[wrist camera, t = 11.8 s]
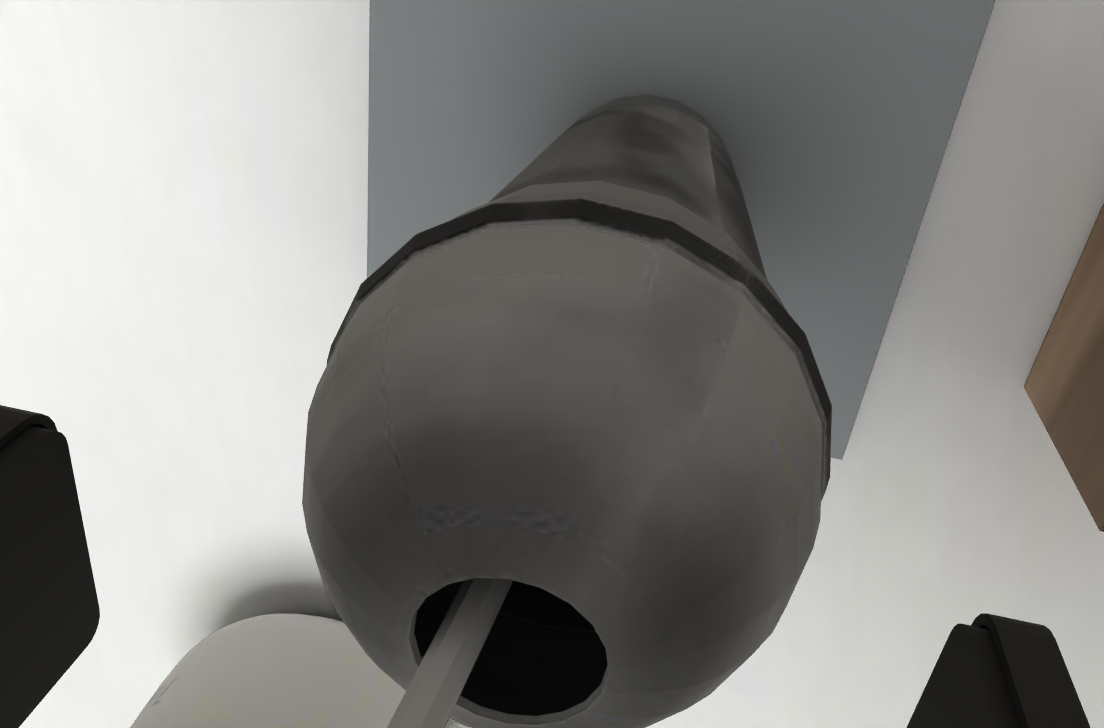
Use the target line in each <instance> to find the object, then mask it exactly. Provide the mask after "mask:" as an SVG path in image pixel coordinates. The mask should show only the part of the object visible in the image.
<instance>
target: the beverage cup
mask: <svg viewBox="0 0 1104 728" xmlns="http://www.w3.org/2000/svg"><path fill="white" fill-rule="evenodd" d="M831 425H832V404H831V402H830V399H829V396H828V393H827V391H826V388H825V385H824V383H823V380H822V377H821V374H820V372H819V369H818V366H817V364H816V361H815V358H814V355H813V353H812V350H811V347H810V345H809V342H808V339H807V336H806V334H805V332H804V331H803V330H802V329H801V328H800V326H799V325H798V324H797V323H796V322H795V321H794V319H793V318H792V317H791V316H790V315H789V314H788V311H787V310H786V308H785V307H784V305H783V303H782V302H781V300H780V298H779V297H778V295H777V294H776V292H775V290H774V289H773V287H772V285H771V284H770V283H769V282H768V281H767V278H766V274H765V271H764V267H763V263H762V260H761V256H760V253H759V249H758V246H757V242H756V238H755V235H754V231H753V228H752V224H751V220H750V217H749V213H748V210H747V206H746V203H745V199H744V195H743V192H742V188H741V185H740V182H739V179H738V177H737V174H736V171H735V169H734V166H733V163H732V161H731V158H730V155H729V154H728V152H727V151H726V148H725V146H724V143H723V140H722V139H721V138H720V136H719V135H718V134H717V133H716V132H715V130H714V129H713V128H712V127H711V125H710V124H709V123H708V122H707V121H706V119H705V118H704V117H702V116H701V115H699V114H698V113H696V112H694V111H693V110H691V109H690V108H688V107H686V106H685V105H683V104H682V103H680V102H677V101H673V100H669V99H665V98H661V97H657V96H653V95H643V96H631V97H620V98H618V99H616V100H613V101H611V102H609V103H606V104H604V105H602V106H599V107H597V108H594V109H593V110H592V111H591V112H590V113H589V114H587V115H586V116H583V117H581V118H579V119H578V120H577V121H576V122H575V123H574V124H573V125H571V126H570V127H569V128H568V129H567V130H566V131H565V132H564V133H562V134H561V135H560V136H559V137H558V138H557V139H556V140H555V141H554V142H552V143H551V144H550V145H549V146H548V147H547V148H546V149H545V150H544V151H543V152H542V153H541V154H540V155H538V156H537V157H536V158H535V159H534V160H533V161H532V162H531V163H530V164H529V165H528V166H527V167H526V168H524V169H523V170H522V171H521V172H520V173H519V174H518V175H517V176H516V177H515V178H514V179H513V180H512V181H511V182H509V183H508V184H507V185H506V186H505V187H504V188H503V189H502V190H501V191H500V192H499V193H498V194H497V195H495V196H494V197H493V198H492V199H491V200H490V201H489V202H488V203H486V204H483V205H481V206H478V207H476V208H473V209H471V210H469V211H467V212H465V213H463V214H461V215H459V216H457V217H455V218H453V219H452V220H450V221H447V222H445V223H442V224H440V225H437V226H435V227H432V228H430V229H427V230H425V231H422V232H420V233H418V234H416V235H414V236H413V237H412V238H411V239H410V240H409V241H408V242H407V243H406V244H405V245H403V246H402V247H401V248H400V249H399V250H398V251H397V252H396V253H395V254H394V255H392V256H391V257H390V258H389V259H388V260H387V261H386V262H385V263H384V264H383V265H381V266H380V267H379V268H378V269H377V270H376V271H375V272H374V273H373V274H372V275H370V276H369V277H368V278H367V279H366V280H365V281H364V282H363V283H362V284H361V285H360V287H359V289H358V291H357V294H356V296H355V298H354V300H353V302H352V304H351V306H350V308H349V310H348V312H347V314H346V316H345V318H344V320H343V322H342V324H341V326H340V329H339V331H338V333H337V335H336V337H335V339H334V341H333V343H332V345H331V348H330V352H329V356H328V359H327V367H326V369H325V371H324V373H323V375H322V377H321V379H320V381H319V383H318V385H317V388H316V391H315V394H314V397H313V400H312V403H311V406H310V409H309V412H308V424H307V436H306V451H305V467H304V484H303V500H302V504H303V510H304V516H305V522H306V528H307V533H308V536H309V539H310V543H311V546H312V549H313V552H314V555H315V558H316V562H317V565H318V568H319V571H320V574H321V577H322V581H323V584H324V587H325V589H326V591H327V593H328V595H329V598H330V600H331V602H332V604H333V606H334V608H335V610H336V612H337V613H338V615H339V616H340V617H341V619H342V620H343V622H344V623H345V625H346V626H347V627H348V629H349V630H350V632H351V633H352V635H353V636H354V637H355V639H356V640H357V642H358V643H359V644H360V646H361V647H362V649H363V650H364V652H365V653H366V654H367V655H368V657H369V658H370V659H371V660H372V661H373V662H374V663H375V664H376V665H377V666H378V667H379V668H380V669H381V670H382V671H383V672H384V673H386V674H387V675H388V676H389V677H390V678H392V679H393V680H394V681H395V682H396V683H397V684H399V685H400V686H401V687H402V688H403V689H405V690H406V692H405V694H404V696H403V698H402V700H401V702H400V703H399V705H398V707H397V709H396V711H395V713H394V715H393V717H392V719H391V721H390V723H389V724H388V726H387V728H445V726H446V724H447V722H448V720H449V718H451V719H453V720H455V721H457V722H459V723H461V724H463V725H465V726H468V727H471V728H645V727H648V726H650V725H652V724H654V723H656V722H659V721H661V720H663V719H665V718H667V717H670V716H672V715H674V714H676V713H678V712H681V711H683V710H685V709H687V708H689V707H690V706H692V705H694V704H695V703H697V702H698V701H700V700H702V699H703V698H705V697H706V696H708V695H710V694H711V693H712V692H713V691H714V690H715V689H716V688H717V687H718V686H719V685H720V684H721V683H723V682H724V681H725V680H726V679H727V678H728V677H729V676H730V675H731V674H732V673H733V672H734V671H735V670H736V669H737V668H738V667H740V666H741V665H742V664H743V663H744V662H745V661H746V660H747V659H748V658H749V657H750V656H751V655H752V654H753V653H754V652H755V651H756V650H757V649H758V648H759V647H760V645H761V644H762V643H763V642H764V641H765V640H766V639H767V638H768V637H769V636H770V635H771V633H772V632H773V630H774V629H775V627H776V625H777V623H778V621H779V619H780V617H781V615H782V614H783V612H784V610H785V608H786V606H787V604H788V602H789V599H790V597H791V595H792V593H793V591H794V588H795V586H796V584H797V582H798V580H799V578H800V575H801V573H802V571H803V569H804V567H805V565H806V562H807V560H808V558H809V556H810V554H811V552H812V549H813V546H814V542H815V538H816V534H817V530H818V526H819V522H820V505H821V500H822V498H823V496H824V494H825V491H826V488H827V485H828V481H829V478H830V457H831Z"/></svg>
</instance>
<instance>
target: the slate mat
mask: <svg viewBox="0 0 1104 728" xmlns="http://www.w3.org/2000/svg"><path fill="white" fill-rule="evenodd" d="M994 3H995V0H370V35H369V141H368V247H367V278H368V277H369V276H370V275H372V274H373V273H374V272H375V271H376V270H377V269H378V268H379V267H380V266H381V265H383V264H384V263H385V262H386V261H387V260H388V259H389V258H390V257H391V256H392V255H394V254H395V253H396V252H397V251H398V250H399V249H400V248H401V247H402V246H403V245H405V244H406V243H407V242H408V241H409V240H410V239H411V238H412V237H413V236H414V235H416V234H418V233H420V232H422V231H425V230H427V229H430V228H432V227H435V226H437V225H440V224H442V223H445V222H447V221H450V220H452V219H453V218H455V217H457V216H459V215H461V214H463V213H465V212H467V211H469V210H471V209H473V208H476V207H478V206H481V205H483V204H486V203H488V202H489V201H490V200H491V199H492V198H493V197H494V196H495V195H497V194H498V193H499V192H500V191H501V190H502V189H503V188H504V187H505V186H506V185H507V184H508V183H509V182H511V181H512V180H513V179H514V178H515V177H516V176H517V175H518V174H519V173H520V172H521V171H522V170H523V169H524V168H526V167H527V166H528V165H529V164H530V163H531V162H532V161H533V160H534V159H535V158H536V157H537V156H538V155H540V154H541V153H542V152H543V151H544V150H545V149H546V148H547V147H548V146H549V145H550V144H551V143H552V142H554V141H555V140H556V139H557V138H558V137H559V136H560V135H561V134H562V133H564V132H565V131H566V130H567V129H568V128H569V127H570V126H571V125H573V124H574V123H575V122H576V121H577V120H578V119H579V118H581V117H583V116H586V115H587V114H589V113H590V112H591V111H592V110H593V109H594V108H597V107H599V106H602V105H604V104H606V103H609V102H611V101H613V100H616V99H618V98H620V97H631V96H643V95H653V96H657V97H661V98H665V99H669V100H673V101H677V102H680V103H682V104H683V105H685V106H686V107H688V108H690V109H691V110H693V111H694V112H696V113H698V114H699V115H701V116H702V117H704V118H705V119H706V121H707V122H708V123H709V124H710V125H711V127H712V128H713V129H714V130H715V132H716V133H717V134H718V135H719V136H720V138H721V139H722V140H723V143H724V146H725V148H726V151H727V152H728V154H729V155H730V158H731V161H732V163H733V166H734V169H735V171H736V174H737V177H738V179H739V182H740V185H741V188H742V192H743V195H744V199H745V203H746V206H747V210H748V213H749V217H750V220H751V224H752V228H753V231H754V235H755V238H756V242H757V246H758V249H759V253H760V256H761V260H762V263H763V267H764V271H765V274H766V278H767V281H768V282H769V283H770V284H771V285H772V287H773V289H774V290H775V292H776V294H777V295H778V297H779V298H780V300H781V302H782V303H783V305H784V307H785V308H786V310H787V311H788V314H789V315H790V316H791V317H792V318H793V319H794V321H795V322H796V323H797V324H798V325H799V326H800V328H801V329H802V330H803V331H804V332H805V334H806V336H807V339H808V342H809V345H810V347H811V350H812V353H813V355H814V358H815V361H816V364H817V366H818V369H819V372H820V374H821V377H822V380H823V383H824V385H825V388H826V391H827V393H828V396H829V399H830V402H831V404H832V425H831V457H832V458H837V459H842V458H843V455H844V452H845V449H846V446H847V443H848V440H849V437H850V434H851V431H852V428H853V425H854V422H855V419H856V416H857V413H858V410H859V407H860V404H861V401H862V398H863V395H864V392H865V389H866V386H867V383H868V380H869V377H870V374H871V371H872V368H873V365H874V362H875V359H876V356H877V353H878V350H879V347H880V344H881V342H882V339H883V336H884V333H885V330H886V327H887V324H888V321H889V318H890V315H891V312H892V309H893V306H894V303H895V300H896V297H897V294H898V291H899V288H900V285H901V282H902V279H903V276H904V273H905V270H906V267H907V264H908V261H909V258H910V255H911V252H912V249H913V246H914V243H915V240H916V237H917V234H918V231H919V228H920V225H921V222H922V219H923V216H924V213H925V210H926V207H927V204H928V201H929V198H930V195H931V192H932V189H933V186H934V183H935V180H936V177H937V174H938V171H939V168H940V165H941V162H942V159H943V156H944V153H945V150H946V147H947V144H948V141H949V138H950V135H951V132H952V129H953V126H954V123H955V120H956V117H957V114H958V111H959V108H960V105H961V102H962V99H963V96H964V93H965V90H966V87H967V84H968V81H969V78H970V75H971V72H972V69H973V66H974V63H975V60H976V57H977V54H978V51H979V48H980V45H981V42H982V39H983V36H984V33H985V30H986V27H987V24H988V21H989V18H990V15H991V12H992V9H993V6H994Z"/></svg>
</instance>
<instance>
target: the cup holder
mask: <svg viewBox="0 0 1104 728" xmlns="http://www.w3.org/2000/svg"><path fill="white" fill-rule="evenodd" d="M1024 388H1025V390H1026V392H1027V394H1028V396H1029V398H1030V400H1031V401H1032V403H1033V405H1034V407H1035V409H1036V411H1037V413H1038V415H1039V417H1040V418H1041V420H1042V422H1043V424H1044V426H1045V428H1046V430H1047V432H1048V434H1049V436H1050V437H1051V439H1052V441H1053V443H1054V445H1055V447H1056V449H1057V451H1058V453H1059V454H1060V456H1061V458H1062V460H1063V462H1064V464H1065V466H1066V468H1067V470H1068V471H1069V473H1070V475H1071V477H1072V479H1073V481H1074V483H1075V485H1076V487H1077V489H1078V490H1079V492H1080V494H1081V496H1082V498H1083V500H1084V502H1085V504H1086V506H1087V507H1088V509H1089V511H1090V513H1091V515H1092V517H1093V519H1094V521H1095V523H1096V525H1097V526H1098V528H1099V530H1100V531H1103V532H1104V205H1103V207H1102V209H1101V212H1100V214H1099V216H1098V219H1097V221H1096V223H1095V226H1094V228H1093V230H1092V232H1091V235H1090V237H1089V239H1088V242H1087V244H1086V246H1085V248H1084V251H1083V253H1082V255H1081V258H1080V260H1079V262H1078V265H1077V267H1076V269H1075V271H1074V274H1073V276H1072V278H1071V281H1070V283H1069V285H1068V287H1067V290H1066V292H1065V294H1064V297H1063V299H1062V301H1061V303H1060V306H1059V308H1058V310H1057V313H1056V315H1055V317H1054V320H1053V322H1052V324H1051V326H1050V329H1049V331H1048V333H1047V336H1046V338H1045V340H1044V342H1043V345H1042V347H1041V349H1040V352H1039V354H1038V356H1037V358H1036V361H1035V363H1034V365H1033V368H1032V370H1031V372H1030V375H1029V377H1028V379H1027V381H1026V384H1025V386H1024Z"/></svg>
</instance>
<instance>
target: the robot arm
mask: <svg viewBox="0 0 1104 728" xmlns="http://www.w3.org/2000/svg"><path fill="white" fill-rule="evenodd" d="M99 617H100V611H99V604H98V599H97V594H96V589H95V584H94V578H93V573H92V568H91V563H90V557H89V552H88V547H87V542H86V537H85V531H84V526H83V521H82V516H81V510H80V505H79V500H78V495H77V489H76V484H75V479H74V474H73V469H72V463H71V458H70V453H69V448H68V443H67V440H66V437H65V436H64V435H63V434H62V433H60V432H58V431H57V429H56V426H55V423H54V422H53V421H52V420H51V418H50V417H48V416H46V415H43V414H39V413H34V412H30V411H25V410H20V409H15V408H11V407H6V406H1V405H0V728H19V726H20V725H21V724H22V723H23V722H24V721H25V719H26V718H27V717H28V716H29V715H30V713H31V712H32V711H33V710H34V709H35V708H36V706H37V705H38V704H39V703H40V702H41V700H42V699H43V698H44V697H45V696H46V695H47V693H48V692H49V691H50V690H51V689H52V687H53V686H54V685H55V684H56V683H57V681H58V680H59V679H60V678H61V677H62V676H63V674H64V673H65V672H66V671H67V670H68V668H69V667H70V666H71V665H72V664H73V663H74V661H75V660H76V659H77V658H78V657H79V655H80V654H81V653H82V652H83V651H84V649H85V648H86V647H87V646H88V644H89V643H90V642H91V640H92V638H93V636H94V634H95V632H96V630H97V627H98V623H99ZM907 728H1090V725H1089V723H1088V720H1087V718H1086V715H1085V713H1084V710H1083V708H1082V705H1081V703H1080V700H1079V698H1078V695H1077V693H1076V690H1075V688H1074V685H1073V683H1072V680H1071V677H1070V675H1069V672H1068V670H1067V667H1066V665H1065V662H1064V660H1063V657H1062V655H1061V652H1060V650H1059V647H1058V645H1057V642H1056V640H1055V638H1054V636H1053V634H1052V632H1051V631H1050V630H1049V629H1048V628H1047V627H1045V626H1043V625H1039V624H1034V623H1029V622H1024V621H1020V620H1015V619H1010V618H1006V617H1001V616H996V615H991V614H980V615H979V616H978V617H976V618H975V620H974V621H973V623H972V625H971V626H970V625H965V624H957V625H956V626H955V627H954V628H953V630H952V631H951V633H950V635H949V637H948V639H947V641H946V644H945V646H944V648H943V650H942V652H941V654H940V657H939V659H938V661H937V663H936V665H935V667H934V670H933V672H932V674H931V676H930V678H929V680H928V683H927V685H926V687H925V689H924V691H923V693H922V696H921V698H920V700H919V702H918V704H917V706H916V709H915V711H914V713H913V715H912V717H911V719H910V722H909V724H908V726H907Z"/></svg>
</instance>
